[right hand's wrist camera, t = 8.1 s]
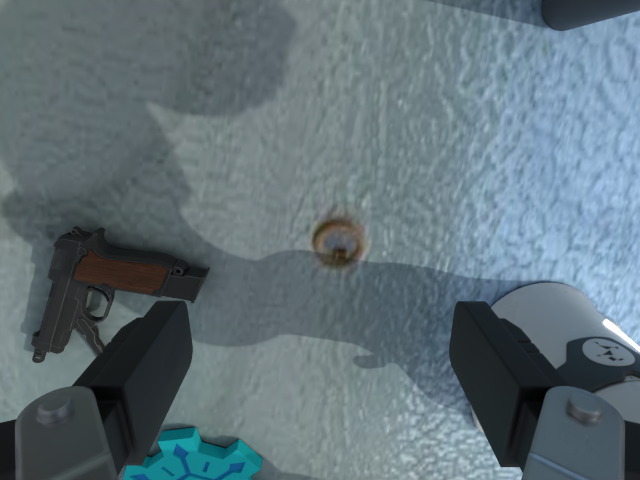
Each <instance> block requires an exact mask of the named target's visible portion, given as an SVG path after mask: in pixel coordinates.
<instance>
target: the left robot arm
mask: <svg viewBox="0 0 640 480" xmlns="http://www.w3.org/2000/svg"><path fill="white" fill-rule="evenodd" d="M491 309H492V310H493V311H494V313H495V314H496V315H497V316H498V317H499V318H505V319H507V320H508V321H510V322H511V323H513V324H514V325H516V326H518V327H519V328H521V329H522V331H523V332H524V333H525V334H526V335H527V336H528V337H529V339H530V340H531V343H534V344H535V346H536V347H537V348H538V349H539V350H540V353H542V354H543V355H544V356H545V357H546V358H547V359H548V361H549V362H550V363H551V364H552V365H553V366H554V368H555V369H556V370H557V371H558V372H559V373H560V375H561V376H562V377H563V378H564V379H565V380H566V381H567V383H568V384H569V385H570V386H571V387H575V388H580V389H583V390H586V391H588V392H591V393H593V394H595V395H597V396H599V397H601V398H602V399H604V400H606V401H607V402H608V403H610V404H611V405H612V406H613V407H614V408H615V409H616V410H617V411H618V412H619V413H620V415H621V416H622V418H623V420H627V421H631V422H635V423H639V424H640V352H639V351H640V347H639V346H638V345H637V344H635V343H634V342H633V341H632V340H631V339H630V338H628V337H627V336H626V335H625V334H624V333H623V332H621V328H620V326H619V325H618V324H617V323H616V322H615V321H613V320H612V319H610V318H609V317H607V316H605V315H603V314H601V313H600V312H599V311H598V310H597V308H596V307H595V306H594V305H593V303H592V302H591V301H590V299H589V298H588V297H587V296H586V295H585V294H584V293H582V292H581V291H579V290H578V289H576V288H574V287H571V286H569V285H565V284H560V283H537V284H532V285H528V286H525V287H522V288H519V289H517V290H514V291H512V292H511V293H509V294H507V295H505V296H504V297H502V298H501V299H500V300H498V301H497V302H496V303H495V304H494V305H493V306H492V307H491ZM637 349H638V350H639V351H638V350H637ZM470 407H471V405H470ZM471 412H472V416H473V420H474V423H475V426H476V427H477V429H478V430H479V431H481V432H483V433H484V431H483V429H482V427H481V425H480V423H479V421H478V419H477V417H476V415H475V413H474V411H473V409H472V407H471Z"/></svg>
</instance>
